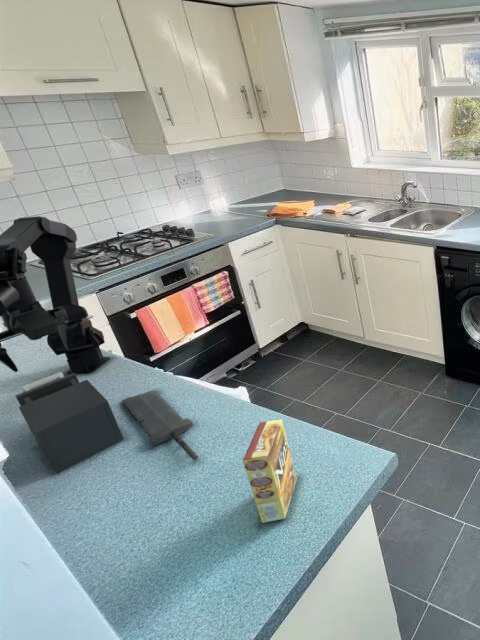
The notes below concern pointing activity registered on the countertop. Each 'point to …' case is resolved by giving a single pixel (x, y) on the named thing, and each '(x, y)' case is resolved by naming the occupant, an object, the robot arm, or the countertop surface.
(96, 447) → the dark grey drawer box
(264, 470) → the candy box
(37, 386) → the dark grey drawer
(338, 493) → the countertop surface
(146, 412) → the grey flat handled slab
